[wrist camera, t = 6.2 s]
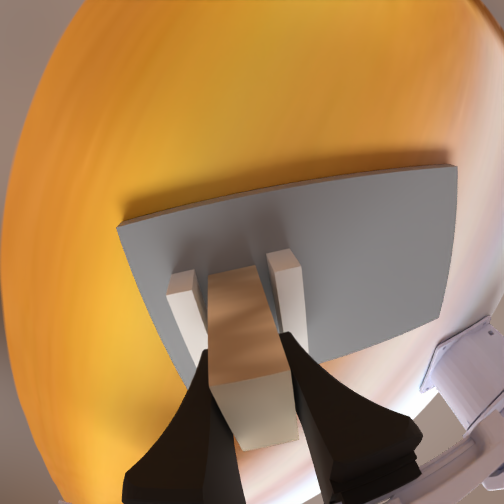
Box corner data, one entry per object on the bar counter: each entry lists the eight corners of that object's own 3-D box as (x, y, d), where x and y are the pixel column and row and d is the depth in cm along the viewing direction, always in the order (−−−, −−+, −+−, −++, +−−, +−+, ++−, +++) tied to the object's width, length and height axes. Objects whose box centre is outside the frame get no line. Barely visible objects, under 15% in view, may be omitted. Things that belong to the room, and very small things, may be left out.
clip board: (447, 164, 14) (479, 172, 11) (431, 311, 19) (452, 331, 16) (122, 221, 13) (101, 242, 10) (188, 380, 18) (187, 413, 15)
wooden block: (255, 264, 14) (290, 369, 7) (269, 338, 16) (299, 439, 9) (208, 275, 14) (208, 386, 7) (229, 347, 16) (243, 451, 9)
